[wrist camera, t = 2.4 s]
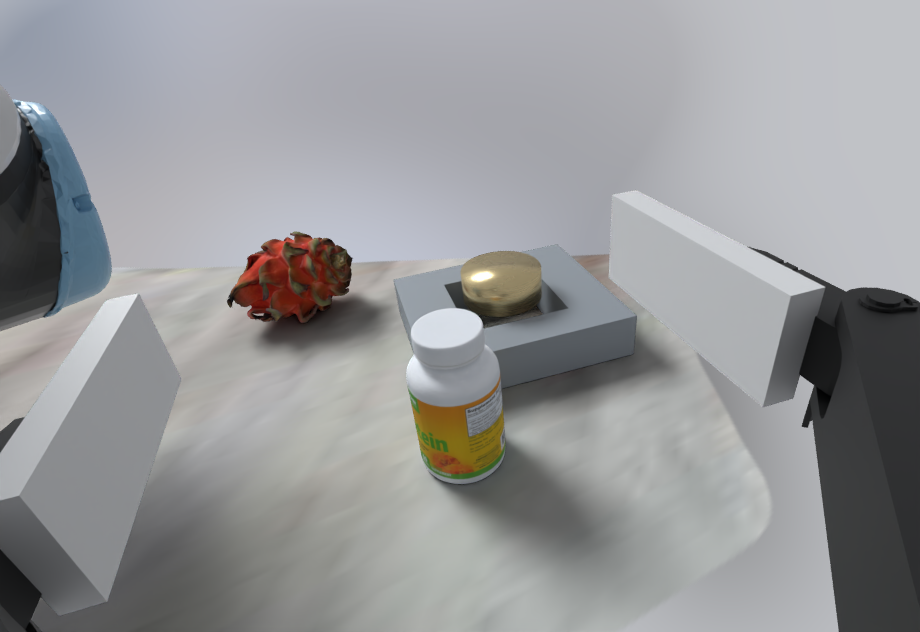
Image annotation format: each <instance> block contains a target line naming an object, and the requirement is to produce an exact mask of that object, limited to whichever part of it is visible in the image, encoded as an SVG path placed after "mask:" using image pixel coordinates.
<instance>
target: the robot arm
mask: <svg viewBox="0 0 920 632" xmlns="http://www.w3.org/2000/svg"><path fill="white" fill-rule="evenodd" d="M610 237H611V238H610V260H609V279H611V280H612V281H613V282H614V283H615V284H617V285H618V286H619V287H620V288H621V289H623V290H624V291H625V292H626V293H627V294H629V295H630V296H631V297H632V298H633V299H634V300H636V301H637V302H638V303H639V304H640V305H642V306H643V307H644V308H645V309H646V310H648V311H649V312H650V313H651V314H652V315H653V316H655V317H656V318H657V319H658V320H659V321H661V322H662V323H663V324H664V325H665V326H667V327H668V328H669V329H670V330H671V331H672V332H674V333H675V334H676V335H677V336H678V337H680V338H681V339H682V340H683V341H684V342H686V343H687V344H688V345H689V346H690V347H691V348H693V349H694V350H695V351H696V352H697V353H699V354H700V355H701V356H702V357H703V358H705V359H706V360H707V361H708V362H709V363H711V364H712V365H713V366H714V367H715V368H716V369H718V370H719V371H720V372H721V373H722V374H724V375H725V376H726V377H727V378H728V379H730V380H731V381H732V382H733V383H734V384H736V385H737V386H738V387H739V388H740V389H741V390H743V391H744V392H745V393H746V394H747V395H749V396H750V397H751V398H752V399H754V400H755V401H756V402H757V403H758V404H759V405H760V406H762V407H765V406H769V405H772V404H776V403H779V402H782V401H786V400H789V399H793V397H794V394H795V390H796V387H797V384H798V380H799V377H800V375H801V376H802V377H804V378H805V379H806V380H808V381H809V382H811V383H812V384H813V385H814V388H813V391H812V394H811V397H810V400H809V404H808V407H807V410H806V414H805V416H804V420H803V423H802V427H808V425H809V422H810V421H812V420H813V428H814V436H815V444H816V451H817V459H818V468H819V476H820V484H821V491H822V499H823V508H824V516H825V524H826V531H827V540H828V548H829V556H830V564H831V572H832V580H833V588H834V596H835V604H836V612H837V620H838V628H839V632H920V302H919V301H917V300H915V299H913V298H911V297H909V296H908V295H905V294H902V293H898V292H895V291H892V290H886V289H880V288H857V289H851V290H849V291H847V292H845V291H844V290H842V289H840V288H838V287H836V286H834V285H831V284H830V283H828V282H826V281H824V280H821V279H820V278H818V277H815V276H814V275H812V274H810V273H808V272H806V271H804V270H798V267H796V266H794V265H792V264H789V263H788V262H787V263H784V261H783V260H782V259H779V258H778V257H776V256H774V255H772V254H770V253H768V252H765V251H761V250H758V249H754V248H750V247H746V246H744V245H742V244H740V243H738V242H736V241H734V240H732V239H730V238H729V237H727V236H724V235H723V234H720V233H719V232H717V231H715V230H713V229H711V228H709V227H707V226H705V225H703V224H701V223H699V222H697V221H695V220H693V219H691V218H689V217H687V216H686V215H684V214H681V213H679V212H678V211H676V210H674V209H672V208H670V207H668V206H666V205H664V204H662V203H660V202H658V201H656V200H654V199H652V198H650V197H648V196H646V195H644V194H643V193H640V192H639V191H637V190H634V191H629V192H624V193H619V194H615V195H612V214H611V236H610ZM111 272H112V265H111V257H110V252H109V247H108V244H107V240H106V236H105V233H104V230H103V226H102V223H101V220H100V218H99V215H98V212H97V210H96V208H95V206H94V204H93V203H92V202H91V196H90V193H89V191H88V187H87V183H86V180H85V177H84V175H83V172H82V170H81V168H80V166H79V163H78V161H77V159H76V157H75V154H74V152H73V150H72V148H71V146H70V144H69V142H68V140H67V138H66V136H65V134H64V133H63V130H62V129H61V127H60V125H59V124H58V122H57V120H56V119H55V118H54V116H53V115H52V113H51V112H50V111H49V110H48V109H47V108H46V107H45V106H43V105H41V104H38V103H34V102H22V101H18V100H14V99H13V100H12V99H11V97H10V96H9V94H8V93H7V91H6V90H5V89H4V88H3V87H2V86H1V85H0V331H2V330H5V329H8V328H11V327H14V326H17V325H20V324H23V323H26V322H29V321H32V320H36V319H39V318H42V317H45V318H46V317H49V316H52V315H55V314H56V313H58V312H59V311H60V310H61V309H62V308H64V307H67V306H69V305H72V304H74V303H77V302H79V301H82V300H84V299H87V298H89V297H92V296H94V295H96V294H98V293H99V292H101V291H102V290H103V289H104V288H105V287H106V285H107V284H108V282H109V280H110V277H111ZM180 382H181V377H180V375H179V373H178V371H177V369H176V367H175V365H174V363H173V361H172V359H171V357H170V355H169V353H168V351H167V349H166V347H165V345H164V343H163V341H162V339H161V337H160V335H159V333H158V331H157V329H156V327H155V325H154V323H153V321H152V319H151V317H150V315H149V313H148V311H147V309H146V307H145V305H144V303H143V301H142V299H141V297H140V295H139V293H137V294H132V295H127V296H123V297H118V298H113V299H108V300H106V301H105V302H104V304H103V305H102V307H101V308H100V310H99V311H98V313H97V314H96V315H95V317H94V318H93V320H92V321H91V323H90V324H89V326H88V327H87V328H86V330H85V331H84V333H83V334H82V336H81V337H80V339H79V340H78V341H77V343H76V344H75V346H74V347H73V349H72V350H71V352H70V353H69V354H68V356H67V357H66V359H65V360H64V362H63V363H62V365H61V366H60V367H59V369H58V370H57V372H56V373H55V375H54V376H53V378H52V379H51V380H50V382H49V383H48V385H47V386H46V388H45V389H44V391H43V392H42V393H41V395H40V396H39V398H38V399H37V401H36V402H35V403H34V405H33V406H32V408H31V409H30V411H29V412H28V414H27V415H26V416H25V417H23V418H19V419H15V420H14V421H13V422H11V423H10V424H9V425H8V426H7V427H5V428H4V429H3V430H2V431H0V632H42V631H41V630H40V629H39V628H38V627H37V626H36V625H35V624H34V623H33V622H32V621H31V620H30V619H31V617H32V615H33V613H34V610H35V608H36V606H37V604H38V602H39V599H40V597H42V598H43V599H44V601H45V602H46V603H47V604H48V605H49V606H50V607H51V608H52V609H53V610H54V611H55V612H56V613H57V614H58V615H59V616H61V615H65V614H68V613H71V612H75V611H78V610H82V609H85V608H88V607H92V606H95V605H98V604H102V603H105V602H107V601H108V598H109V595H110V592H111V589H112V586H113V583H114V580H115V577H116V574H117V571H118V568H119V565H120V562H121V559H122V556H123V553H124V550H125V547H126V544H127V541H128V538H129V535H130V532H131V529H132V526H133V523H134V520H135V517H136V514H137V511H138V508H139V505H140V502H141V499H142V496H143V493H144V490H145V487H146V484H147V481H148V478H149V475H150V472H151V469H152V466H153V463H154V460H155V457H156V454H157V451H158V448H159V445H160V442H161V439H162V436H163V433H164V430H165V427H166V424H167V421H168V418H169V415H170V412H171V409H172V406H173V403H174V400H175V397H176V394H177V391H178V388H179V385H180Z"/></svg>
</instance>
